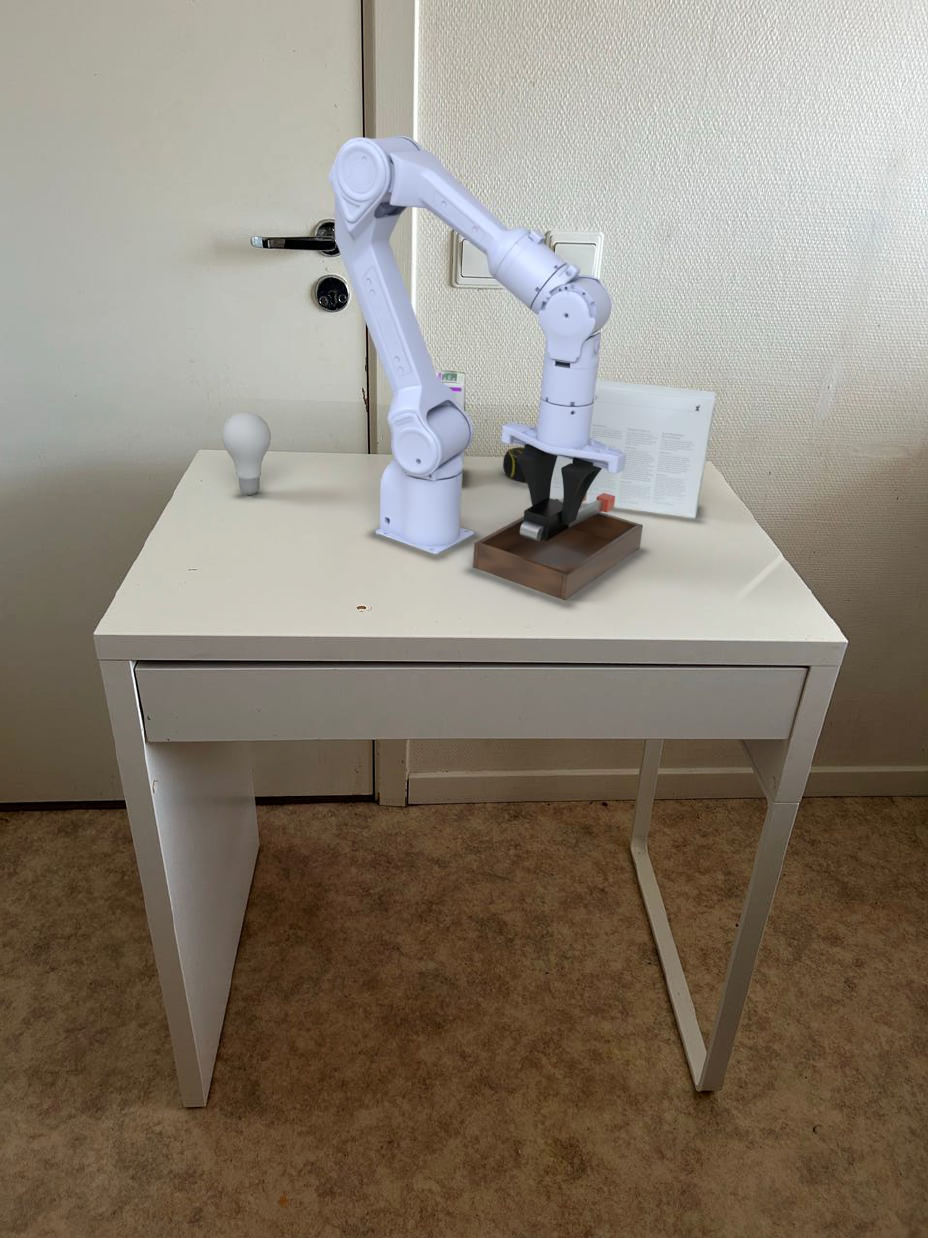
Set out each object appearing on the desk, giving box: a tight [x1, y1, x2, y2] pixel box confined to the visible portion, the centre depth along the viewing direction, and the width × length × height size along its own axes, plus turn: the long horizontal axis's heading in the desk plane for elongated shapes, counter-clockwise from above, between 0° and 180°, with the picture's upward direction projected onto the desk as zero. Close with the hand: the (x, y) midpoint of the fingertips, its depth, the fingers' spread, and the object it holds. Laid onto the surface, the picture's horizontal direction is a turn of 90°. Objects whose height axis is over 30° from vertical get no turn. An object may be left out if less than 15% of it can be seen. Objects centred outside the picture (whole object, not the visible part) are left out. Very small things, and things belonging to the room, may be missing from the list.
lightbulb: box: [221, 411, 272, 496], centre depth 123 cm, size 6×6×11 cm
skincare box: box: [550, 378, 717, 519], centre depth 125 cm, size 21×6×16 cm, turn 76°
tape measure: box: [502, 446, 527, 483], centre depth 135 cm, size 7×7×4 cm
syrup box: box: [435, 369, 467, 481], centre depth 130 cm, size 6×6×14 cm
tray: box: [472, 499, 644, 601], centre depth 111 cm, size 12×18×4 cm
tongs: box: [520, 493, 615, 542], centre depth 109 cm, size 5×15×3 cm, turn 144°
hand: (554, 517), depth 108 cm, fingers closed on tongs, 3 cm apart
